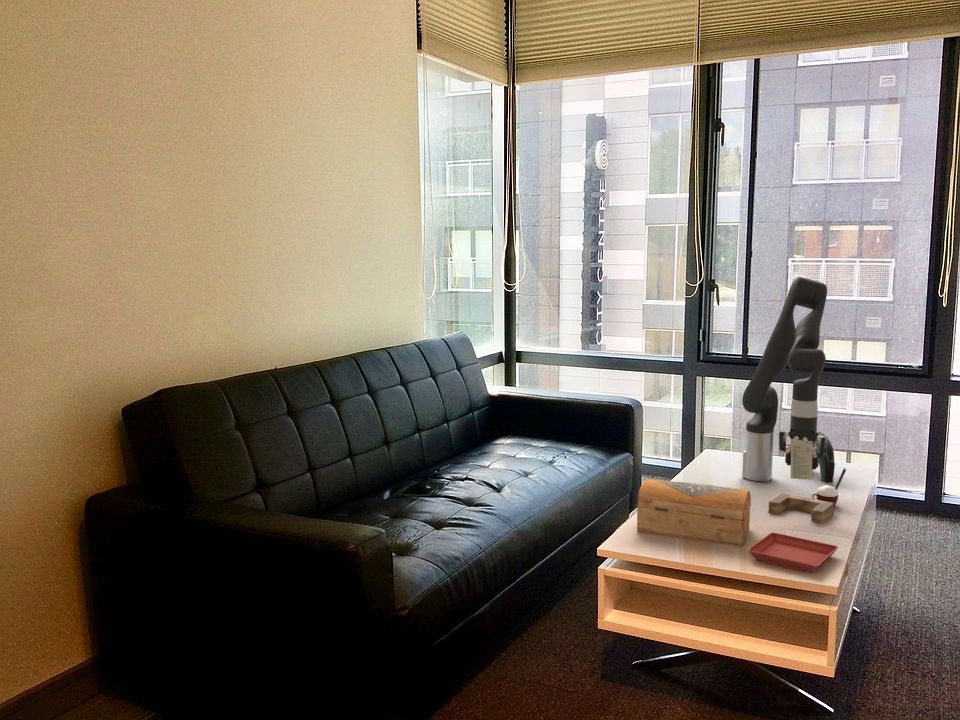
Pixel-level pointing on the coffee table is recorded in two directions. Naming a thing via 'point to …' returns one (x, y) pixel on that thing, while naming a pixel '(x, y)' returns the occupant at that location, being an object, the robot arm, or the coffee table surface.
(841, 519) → the coffee table surface
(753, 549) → the plant saucer
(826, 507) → the wooden u-shaped block
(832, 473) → the ceramic cat
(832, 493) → the cocoa
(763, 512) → the coffee table surface
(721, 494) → the wooden box
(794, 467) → the skincare box
